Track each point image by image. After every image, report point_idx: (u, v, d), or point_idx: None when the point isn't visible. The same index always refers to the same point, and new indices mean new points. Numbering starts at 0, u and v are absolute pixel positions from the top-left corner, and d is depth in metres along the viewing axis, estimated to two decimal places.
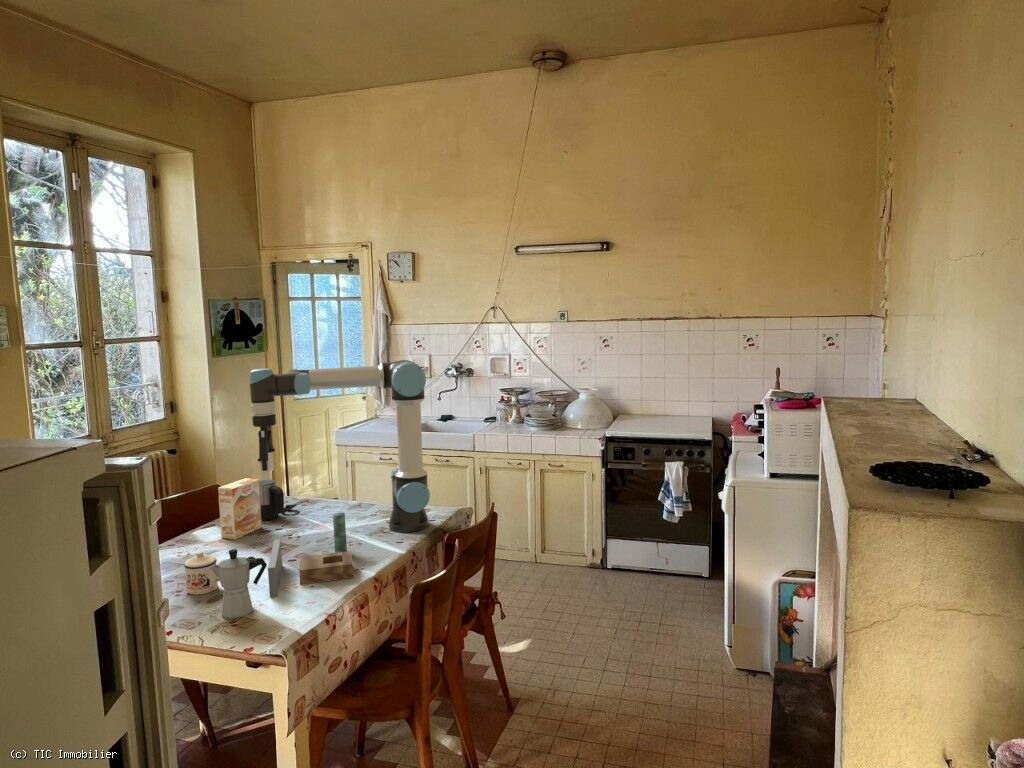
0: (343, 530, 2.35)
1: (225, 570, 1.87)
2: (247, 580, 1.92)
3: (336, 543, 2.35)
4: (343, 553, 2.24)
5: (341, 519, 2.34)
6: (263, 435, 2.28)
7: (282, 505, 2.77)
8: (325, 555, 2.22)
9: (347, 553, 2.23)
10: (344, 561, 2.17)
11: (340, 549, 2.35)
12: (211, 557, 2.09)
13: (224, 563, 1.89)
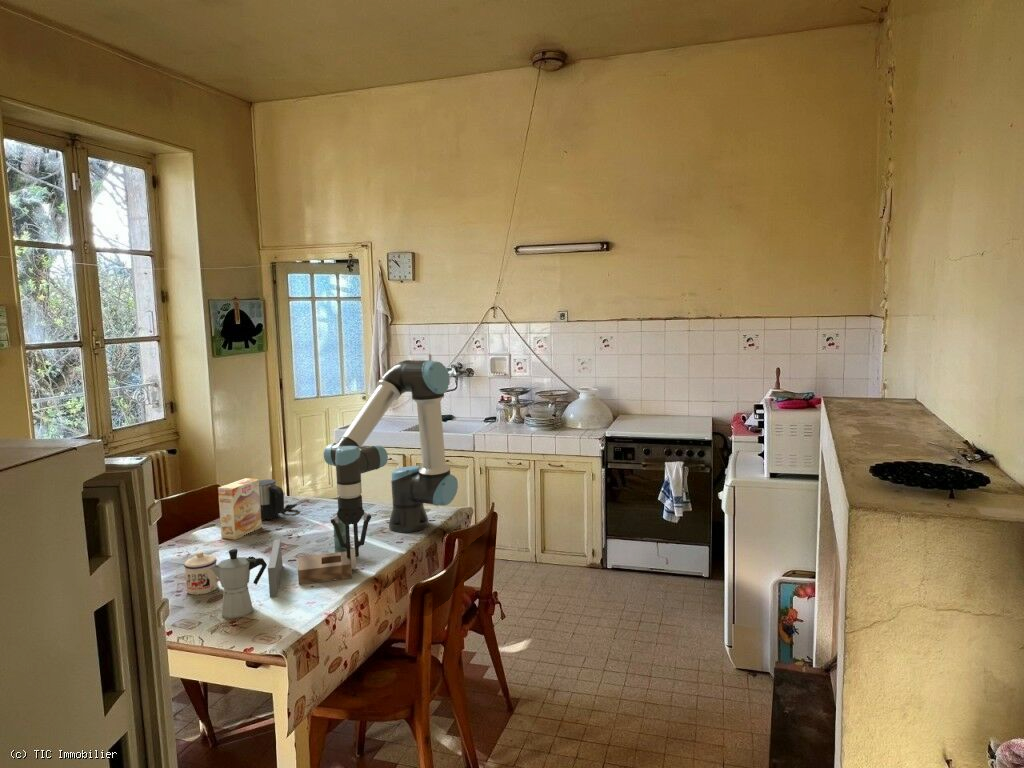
0: (343, 530, 2.35)
1: (225, 570, 1.87)
2: (247, 580, 1.92)
3: (336, 543, 2.35)
4: (342, 553, 2.24)
5: None
6: (332, 523, 2.17)
7: (282, 505, 2.77)
8: (324, 555, 2.22)
9: (345, 554, 2.23)
10: (343, 561, 2.17)
11: (340, 549, 2.35)
12: (211, 557, 2.09)
13: (224, 563, 1.89)
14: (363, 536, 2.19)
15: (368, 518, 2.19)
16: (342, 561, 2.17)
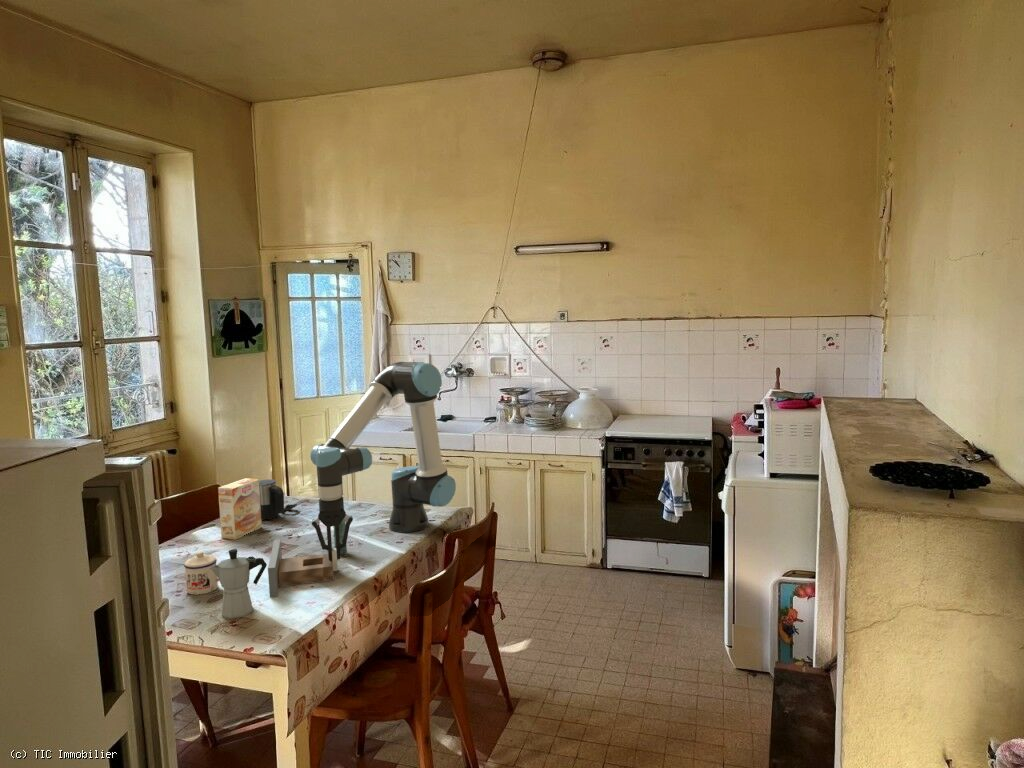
0: (343, 530, 2.35)
1: (225, 570, 1.87)
2: (247, 580, 1.92)
3: None
4: (324, 555, 2.22)
5: None
6: (313, 525, 2.16)
7: (282, 505, 2.77)
8: (306, 557, 2.21)
9: None
10: (324, 563, 2.15)
11: None
12: (211, 557, 2.09)
13: (224, 563, 1.89)
14: (345, 538, 2.18)
15: (350, 520, 2.17)
16: (324, 563, 2.15)
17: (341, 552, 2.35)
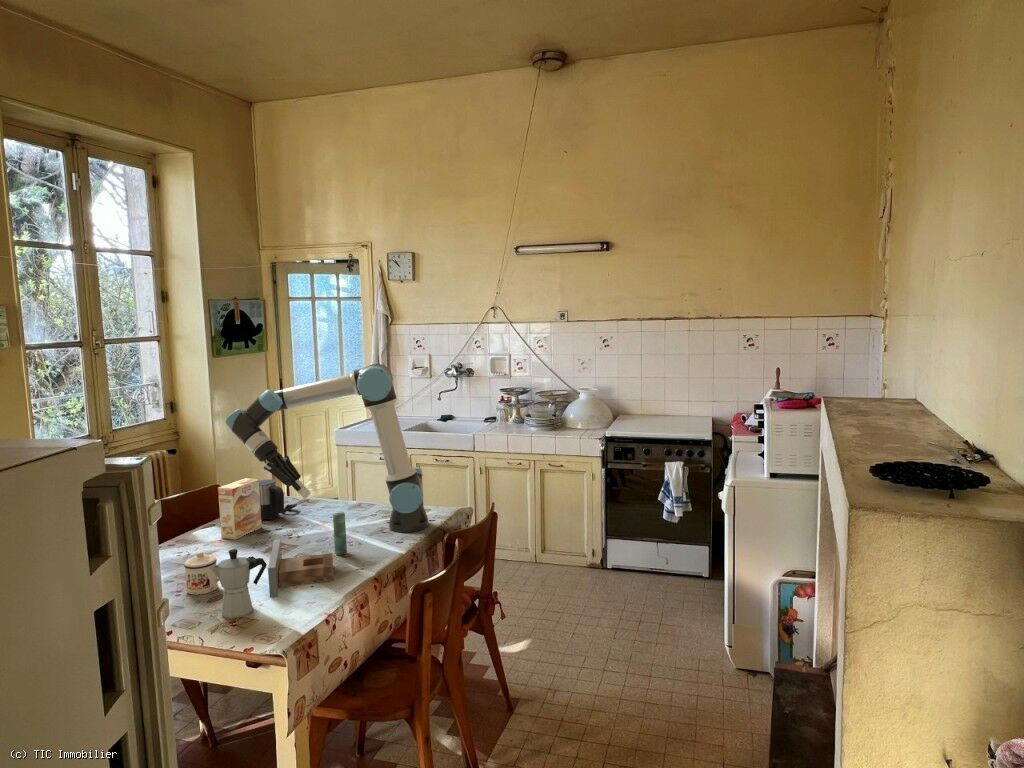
0: (343, 530, 2.35)
1: (225, 570, 1.87)
2: (247, 580, 1.92)
3: (336, 543, 2.35)
4: (324, 555, 2.22)
5: (341, 519, 2.34)
6: None
7: (282, 505, 2.77)
8: (306, 557, 2.21)
9: (328, 556, 2.22)
10: (325, 563, 2.15)
11: (340, 549, 2.35)
12: (211, 557, 2.09)
13: (224, 563, 1.89)
14: None
15: None
16: (324, 563, 2.15)
17: (341, 552, 2.35)
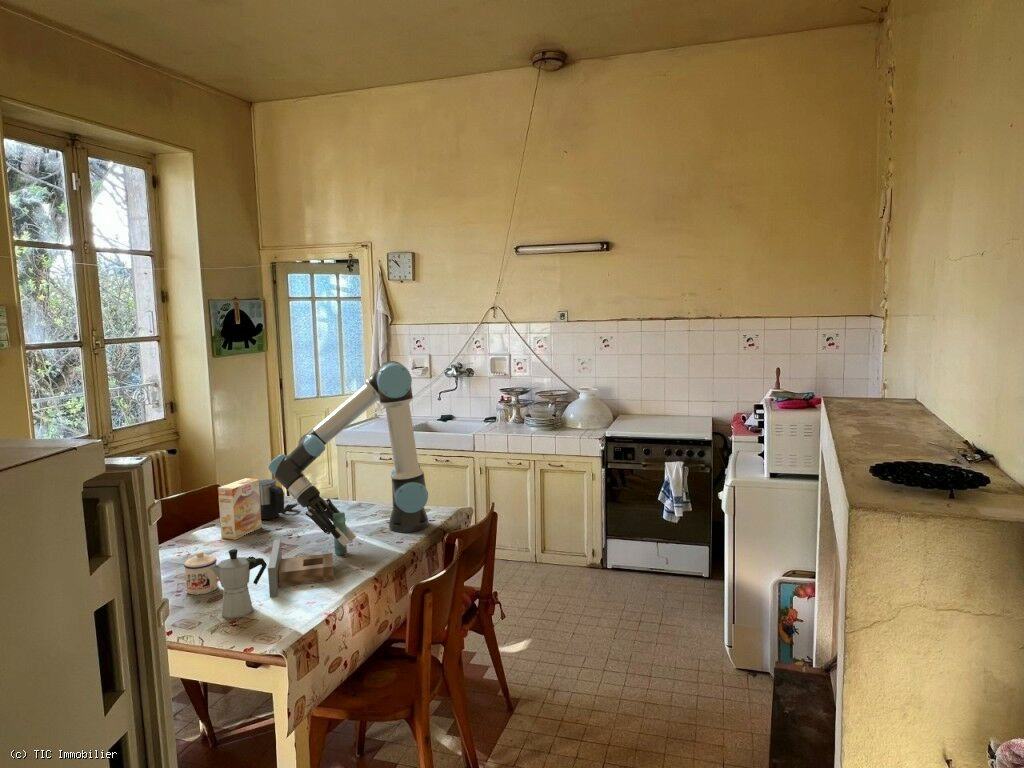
0: (343, 530, 2.35)
1: (225, 570, 1.87)
2: (247, 580, 1.92)
3: (336, 543, 2.35)
4: (324, 555, 2.22)
5: (341, 519, 2.34)
6: None
7: (282, 505, 2.77)
8: (306, 557, 2.21)
9: (328, 556, 2.22)
10: (325, 563, 2.15)
11: (340, 549, 2.35)
12: (211, 557, 2.09)
13: (224, 563, 1.89)
14: None
15: None
16: (324, 563, 2.15)
17: (341, 552, 2.35)
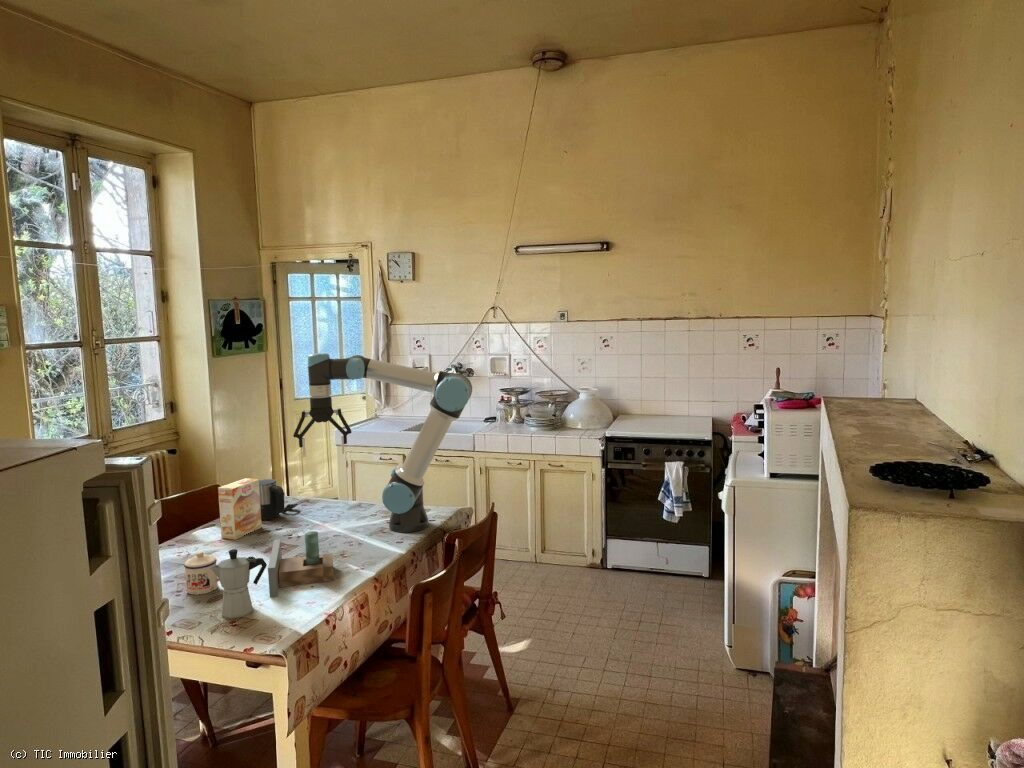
0: (316, 551, 2.15)
1: (225, 570, 1.87)
2: (247, 580, 1.92)
3: (308, 565, 2.15)
4: (324, 555, 2.22)
5: (314, 539, 2.15)
6: None
7: (283, 505, 2.78)
8: None
9: (328, 556, 2.22)
10: (325, 563, 2.15)
11: None
12: (211, 557, 2.09)
13: (224, 563, 1.89)
14: None
15: None
16: (324, 563, 2.15)
17: None
